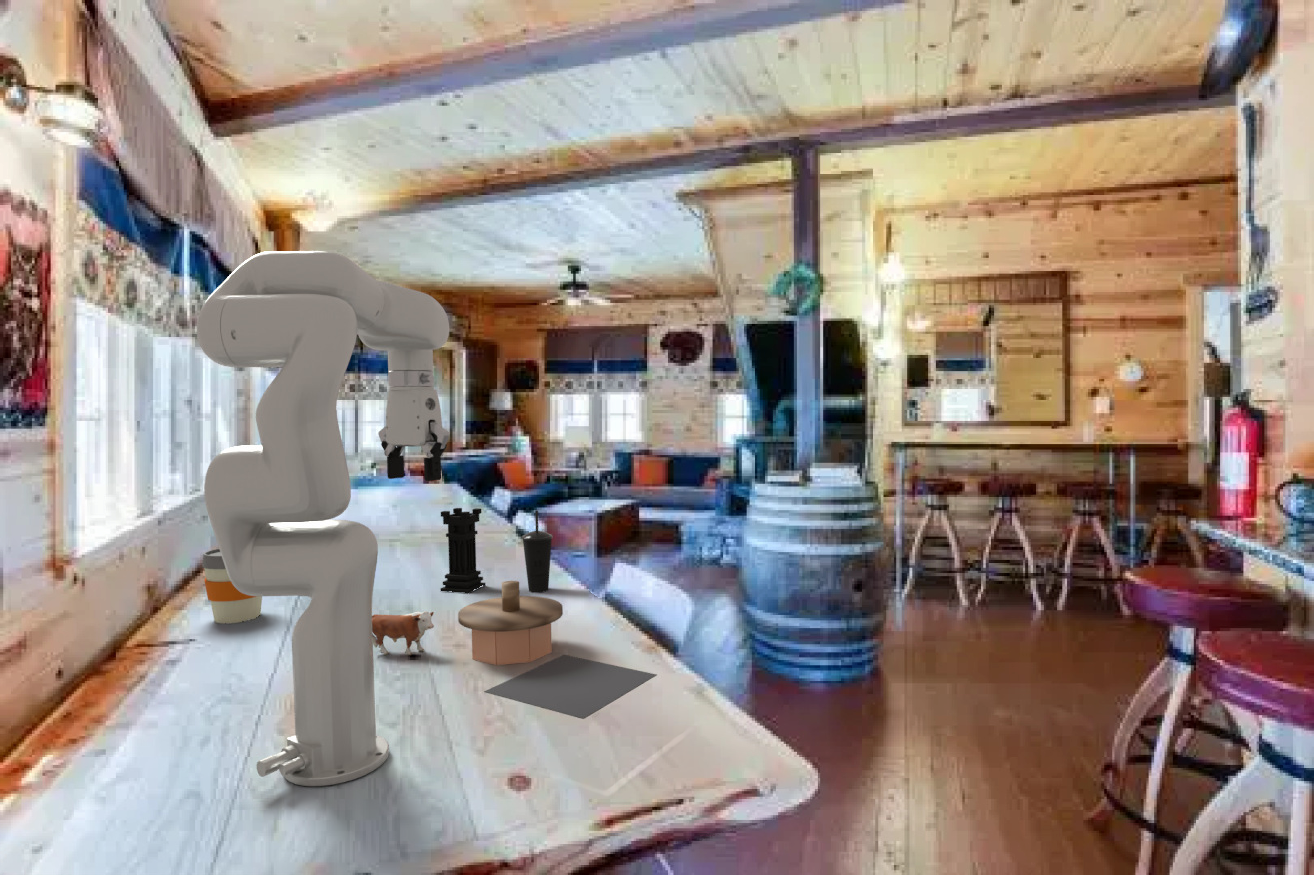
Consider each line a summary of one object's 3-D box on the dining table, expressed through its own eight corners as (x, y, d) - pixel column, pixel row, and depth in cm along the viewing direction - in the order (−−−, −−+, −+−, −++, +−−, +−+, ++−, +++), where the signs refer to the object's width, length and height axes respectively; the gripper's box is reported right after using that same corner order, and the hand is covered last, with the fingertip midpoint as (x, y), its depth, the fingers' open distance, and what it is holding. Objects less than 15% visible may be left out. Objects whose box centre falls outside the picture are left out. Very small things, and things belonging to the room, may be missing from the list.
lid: (513, 637, 124) (512, 601, 123) (435, 621, 134) (434, 587, 133) (583, 610, 140) (582, 577, 139) (509, 597, 150) (508, 567, 150)
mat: (583, 721, 107) (583, 718, 107) (484, 694, 117) (483, 691, 117) (656, 677, 124) (656, 674, 124) (564, 657, 134) (564, 654, 134)
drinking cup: (519, 588, 185) (517, 509, 184) (548, 585, 189) (547, 507, 188) (527, 595, 178) (525, 513, 178) (557, 591, 182) (556, 511, 181)
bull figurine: (430, 658, 135) (429, 614, 134) (364, 654, 137) (363, 611, 137) (442, 650, 139) (441, 608, 139) (378, 647, 142) (376, 605, 141)
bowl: (513, 671, 127) (512, 631, 127) (456, 657, 135) (455, 620, 135) (566, 648, 139) (565, 611, 139) (510, 636, 147) (509, 601, 147)
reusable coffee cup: (266, 621, 160) (263, 553, 159) (199, 628, 155) (196, 558, 155) (272, 607, 172) (270, 543, 171) (210, 613, 167) (207, 548, 166)
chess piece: (440, 591, 184) (438, 512, 183) (458, 584, 191) (456, 507, 191) (468, 593, 181) (466, 512, 181) (485, 585, 189) (483, 508, 188)
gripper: (462, 381, 128) (464, 479, 128) (396, 383, 137) (399, 475, 138) (427, 380, 121) (430, 483, 122) (361, 383, 131) (364, 479, 131)
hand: (414, 479), depth 130 cm, fingers open, 9 cm apart
